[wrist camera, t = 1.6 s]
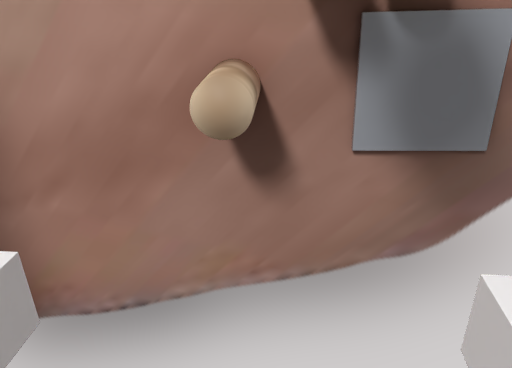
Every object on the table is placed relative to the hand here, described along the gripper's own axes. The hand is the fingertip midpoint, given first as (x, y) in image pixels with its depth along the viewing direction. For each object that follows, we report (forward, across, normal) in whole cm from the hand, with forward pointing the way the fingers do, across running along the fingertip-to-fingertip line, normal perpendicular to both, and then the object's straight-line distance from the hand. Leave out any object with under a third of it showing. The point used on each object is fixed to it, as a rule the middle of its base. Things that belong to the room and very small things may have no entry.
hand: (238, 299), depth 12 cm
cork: (+26, -4, 0) cm, 26 cm away
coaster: (+26, +12, +1) cm, 28 cm away
